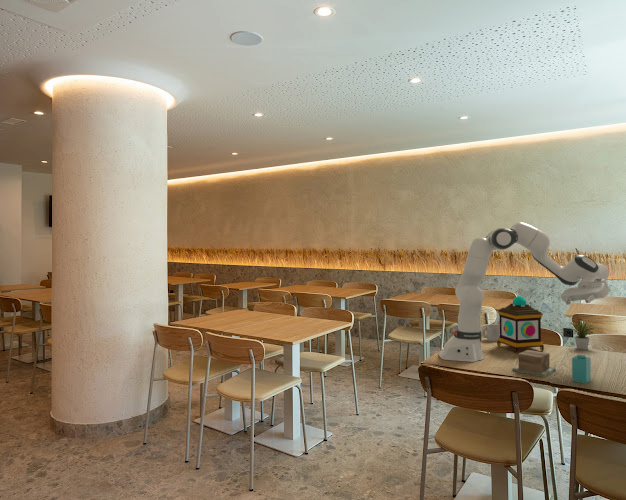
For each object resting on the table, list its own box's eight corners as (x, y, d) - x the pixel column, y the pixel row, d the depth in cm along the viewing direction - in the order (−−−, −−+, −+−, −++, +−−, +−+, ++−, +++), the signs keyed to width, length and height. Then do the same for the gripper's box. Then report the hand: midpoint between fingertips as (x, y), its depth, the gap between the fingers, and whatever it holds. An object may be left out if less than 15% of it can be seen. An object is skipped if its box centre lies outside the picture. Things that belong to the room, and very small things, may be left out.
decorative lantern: (493, 345, 258) (492, 294, 257) (523, 343, 262) (523, 292, 261) (515, 354, 238) (515, 298, 238) (548, 352, 242) (547, 297, 241)
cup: (499, 342, 267) (499, 327, 266) (482, 341, 270) (481, 326, 270) (499, 339, 273) (499, 325, 273) (481, 338, 277) (481, 324, 276)
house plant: (584, 353, 238) (584, 322, 238) (561, 347, 251) (561, 318, 250) (602, 350, 244) (602, 320, 243) (578, 344, 256) (578, 316, 256)
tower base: (543, 377, 200) (543, 359, 200) (512, 370, 210) (512, 353, 210) (555, 370, 209) (555, 353, 209) (525, 364, 219) (525, 348, 219)
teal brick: (586, 383, 191) (586, 357, 190) (572, 380, 195) (572, 355, 195) (590, 380, 194) (590, 355, 194) (576, 377, 199) (576, 353, 198)
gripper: (565, 284, 223) (552, 299, 216) (607, 278, 206) (595, 294, 199) (570, 294, 224) (558, 310, 217) (613, 290, 206) (602, 306, 199)
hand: (577, 302), depth 208 cm, fingers open, 8 cm apart
